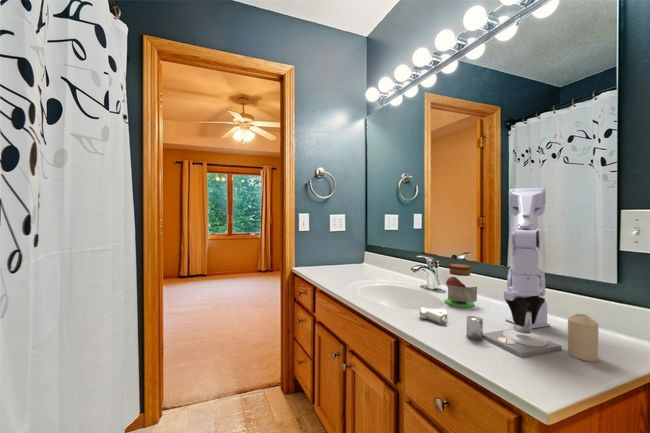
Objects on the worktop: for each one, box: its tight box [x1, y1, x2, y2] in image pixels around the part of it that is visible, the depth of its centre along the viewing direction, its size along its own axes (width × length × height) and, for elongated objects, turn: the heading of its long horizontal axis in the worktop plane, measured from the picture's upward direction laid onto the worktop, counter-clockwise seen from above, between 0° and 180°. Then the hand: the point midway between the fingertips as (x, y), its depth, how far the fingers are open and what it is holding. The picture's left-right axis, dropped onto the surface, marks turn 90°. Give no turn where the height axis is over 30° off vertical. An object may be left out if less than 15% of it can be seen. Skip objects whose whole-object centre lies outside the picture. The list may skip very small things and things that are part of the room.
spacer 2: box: [513, 310, 533, 334], centre depth 77 cm, size 4×4×6 cm
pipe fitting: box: [419, 307, 448, 325], centre depth 92 cm, size 8×4×7 cm
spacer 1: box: [465, 315, 484, 342], centre depth 79 cm, size 4×4×6 cm
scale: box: [483, 328, 563, 358], centre depth 76 cm, size 14×12×1 cm
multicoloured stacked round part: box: [444, 263, 478, 309], centre depth 111 cm, size 12×13×15 cm
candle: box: [567, 313, 599, 363], centre depth 69 cm, size 6×6×10 cm
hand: (524, 324), depth 77 cm, fingers closed on spacer 2, 4 cm apart
